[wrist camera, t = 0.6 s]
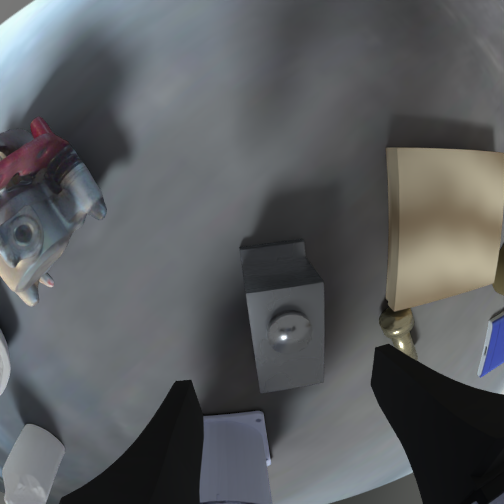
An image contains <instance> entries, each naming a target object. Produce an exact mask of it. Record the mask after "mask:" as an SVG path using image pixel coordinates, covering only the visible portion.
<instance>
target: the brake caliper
mask: <svg viewBox="0 0 504 504" xmlns="http://www.w3.org/2000/svg"><path fill="white" fill-rule="evenodd" d="M31 132H32V134H31V133H29V132H28V131H26V130H23V129H13V130H8V131H6V132H3V133H0V276H1V278H2V279H3V280H4V281H5V283H6V284H7V285H8V286H9V288H10V289H11V290H12V291H14V292H16V294H17V295H18V296H19V297H20V298H21V299H22V300H23V301H24V302H25V303H26V304H27V305H29V306H35V305H36V304H37V303H38V302H39V295H38V284H39V281H40V282H41V283H43V284H45V285H47V286H48V287H53V285H54V281H53V279H52V278H51V277H50V276H49V274H48V273H47V271H48V270H49V269H50V268H51V267H52V265H53V264H54V263H55V261H56V260H57V259H58V258H59V257H60V256H61V254H62V253H63V252H64V250H65V248H66V247H67V245H68V242H69V239H70V237H71V235H72V233H73V232H74V231H75V230H76V229H78V228H80V227H81V226H82V225H83V223H84V221H85V218H86V215H87V214H89V215H91V216H93V217H94V218H96V219H98V220H102V219H103V218H104V217H105V215H106V212H107V208H106V206H105V202H104V199H103V195H102V192H101V190H100V188H99V186H98V185H97V184H96V182H95V181H94V179H93V177H92V175H91V174H90V172H89V170H88V168H87V167H86V166H85V164H84V163H83V162H82V160H81V159H80V158H79V156H78V155H77V153H76V152H75V150H74V149H73V147H72V146H71V145H70V144H69V142H68V141H66V140H63V139H62V138H61V137H59V136H57V135H55V134H54V133H52V131H51V129H50V128H49V126H48V124H47V123H46V122H45V121H44V119H43V118H41V117H36V118H35V119H34V120H33V121H32V123H31Z"/></svg>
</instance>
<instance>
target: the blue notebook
mask: <svg viewBox="0 0 504 504" xmlns="http://www.w3.org/2000/svg"><path fill="white" fill-rule="evenodd" d="M503 362H504V311H503V312H502V313H500V314H499V315H497V316H495V317H494V318H492V319H490V320H489V324H488V329H487V335H486V340H485V344H484V349H483V353H482V357H481V361H480V365H479V369H478V373H477V375H478V376H479V377H482V376H484V375H486V374H487V373H488V372H490V371H491V370H493V369H494V368H496V367H497V366H499V365H500V364H502V363H503Z"/></svg>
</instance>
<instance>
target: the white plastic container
mask: <svg viewBox="0 0 504 504" xmlns="http://www.w3.org/2000/svg"><path fill="white" fill-rule="evenodd" d="M64 453H65V447H64V446H63V444H62V443H61V442H60V441H59V440H58V439H57V438H56V437H55V436H54V435H52V434H51V433H50V432H48V431H47V430H45V429H43V428H41V427H39V426H36V425H33V424H26V425H25V426H24V428H23V430H22V431H21V434H20V435H19V437H18V439H17V440H16V442H15V444H14V446H13V448H12V450H11V452H10V454H9V456H8V458H7V460H6V463H5V465H4V467H3V470H2V475H3V480H4V485H5V496H4V500H5V502H6V504H45V503H46V501H47V498H48V495H49V492H50V490H51V487H52V484H53V481H54V478H55V475H56V473H57V470H58V467H59V465H60V462H61V460H62V457H63V455H64Z"/></svg>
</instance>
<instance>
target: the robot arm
mask: <svg viewBox="0 0 504 504" xmlns="http://www.w3.org/2000/svg"><path fill="white" fill-rule="evenodd" d="M371 387H372V389H373V392H374V394H375V397H376V399H377V401H378V404H379V406H380V407H381V409H382V411H383V413H384V414H385V416H386V418H387V420H388V421H389V423H390V425H391V426H392V428H393V430H394V431H395V433H396V435H397V437H398V438H399V440H400V442H401V444H402V446H403V448H404V450H405V452H406V455H407V457H408V459H409V462H410V464H411V467H412V470H413V473H414V475H415V478H416V481H417V484H418V487H419V491H420V494H421V498H422V501H423V504H504V395H503V394H497V393H492V392H488V391H484V390H481V389H477V388H474V387H471V386H468V385H465V384H463V383H460V382H457V381H455V380H453V379H450V378H448V377H446V376H444V375H442V374H440V373H438V372H436V371H434V370H432V369H430V368H429V367H427V366H425V365H423V364H422V363H420V362H418V361H416V360H415V359H413V358H411V357H410V356H408V355H406V354H405V353H403V352H402V351H400V350H398V349H397V348H395V347H393V346H391V345H390V344H386V345H383V346H379V347H376V348H375V354H374V363H373V370H372V378H371ZM269 465H271V459H270V453H269V446H268V440H267V433H266V427H265V420H264V414H263V412H262V411H251V412H243V413H234V414H225V415H213V416H203V413H202V410H201V407H200V404H199V401H198V398H197V396H196V393H195V390H194V387H193V384H192V381H191V380H184V381H176V382H175V383H174V384H173V386H172V388H171V389H170V391H169V393H168V394H167V396H166V398H165V399H164V401H163V403H162V404H161V406H160V407H159V409H158V410H157V412H156V413H155V415H154V416H153V418H152V419H151V421H150V422H149V424H148V425H147V426H146V428H145V429H144V430H143V431H142V433H141V434H140V435H139V437H138V438H137V439H136V440H135V442H134V443H133V444H132V445H131V446H130V447H129V448H128V449H127V450H126V451H125V453H124V454H123V455H122V456H121V457H119V458H118V459H117V460H116V461H115V462H114V463H113V464H112V465H111V466H110V467H108V468H107V469H106V470H105V471H104V472H102V473H101V474H100V475H98V476H97V477H96V478H94V479H93V480H91V481H90V482H88V483H87V484H85V485H84V486H82V487H81V488H79V489H77V490H75V491H73V492H72V493H70V494H68V495H66V496H64V497H62V498H61V500H60V503H59V504H272V497H271V490H270V484H269V477H268V470H267V466H269Z"/></svg>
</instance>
